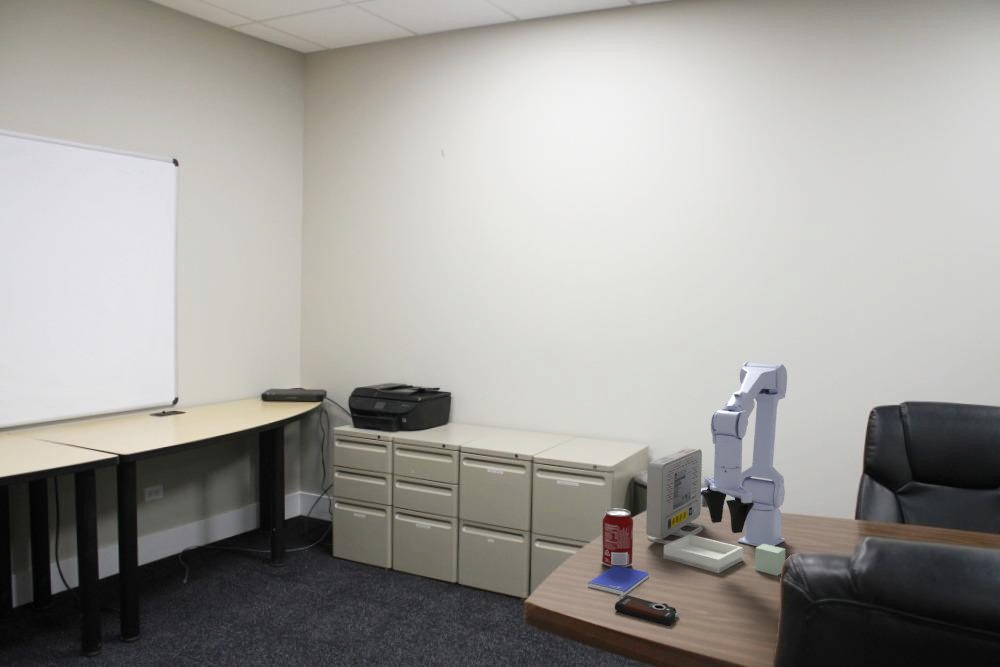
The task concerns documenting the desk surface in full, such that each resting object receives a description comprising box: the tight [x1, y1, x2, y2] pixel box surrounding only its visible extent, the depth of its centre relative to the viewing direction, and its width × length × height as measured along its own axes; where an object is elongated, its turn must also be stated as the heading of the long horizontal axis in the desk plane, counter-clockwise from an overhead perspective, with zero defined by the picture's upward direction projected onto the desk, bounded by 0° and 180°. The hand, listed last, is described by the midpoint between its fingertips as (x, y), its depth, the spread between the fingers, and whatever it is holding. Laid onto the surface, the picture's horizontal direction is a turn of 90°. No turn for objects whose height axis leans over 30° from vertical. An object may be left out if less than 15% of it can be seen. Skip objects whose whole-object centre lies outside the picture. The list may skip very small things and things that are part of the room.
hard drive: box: [587, 566, 650, 596], centre depth 161 cm, size 2×8×12 cm
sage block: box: [754, 544, 786, 577], centre depth 169 cm, size 4×5×5 cm
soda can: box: [601, 507, 634, 569], centre depth 171 cm, size 7×7×12 cm
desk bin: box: [663, 534, 744, 574], centre depth 175 cm, size 12×14×3 cm
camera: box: [614, 594, 680, 626], centre depth 145 cm, size 6×3×11 cm
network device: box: [645, 447, 703, 545], centre depth 194 cm, size 26×9×20 cm, turn 144°
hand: (726, 527), depth 168 cm, fingers open, 7 cm apart
